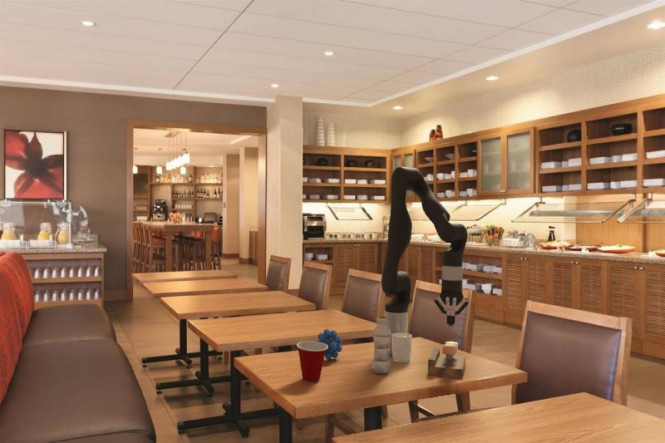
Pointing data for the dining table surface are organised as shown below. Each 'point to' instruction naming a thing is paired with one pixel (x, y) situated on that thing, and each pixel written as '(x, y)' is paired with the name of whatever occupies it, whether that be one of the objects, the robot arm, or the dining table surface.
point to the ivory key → (452, 343)
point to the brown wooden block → (445, 365)
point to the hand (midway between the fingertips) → (450, 325)
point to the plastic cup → (311, 359)
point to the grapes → (330, 343)
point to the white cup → (401, 347)
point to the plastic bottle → (381, 346)
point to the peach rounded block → (449, 351)
